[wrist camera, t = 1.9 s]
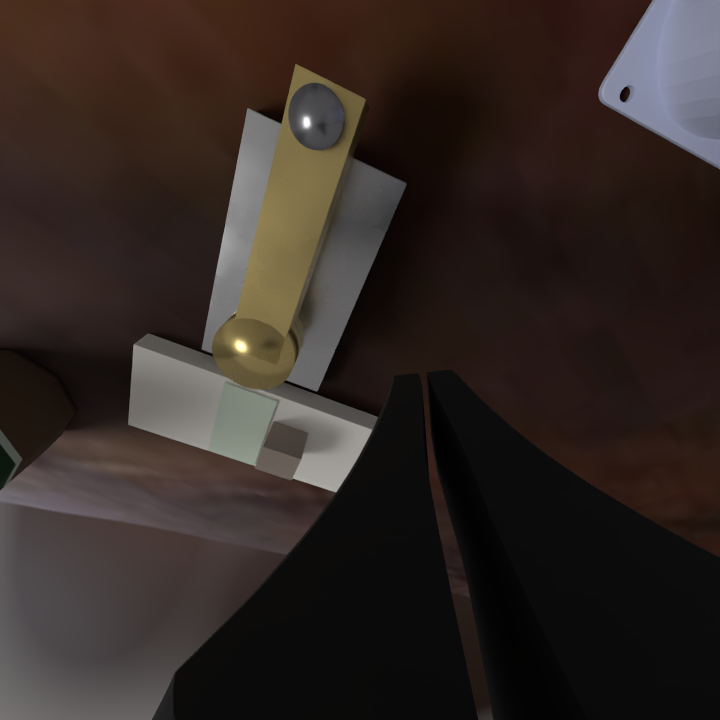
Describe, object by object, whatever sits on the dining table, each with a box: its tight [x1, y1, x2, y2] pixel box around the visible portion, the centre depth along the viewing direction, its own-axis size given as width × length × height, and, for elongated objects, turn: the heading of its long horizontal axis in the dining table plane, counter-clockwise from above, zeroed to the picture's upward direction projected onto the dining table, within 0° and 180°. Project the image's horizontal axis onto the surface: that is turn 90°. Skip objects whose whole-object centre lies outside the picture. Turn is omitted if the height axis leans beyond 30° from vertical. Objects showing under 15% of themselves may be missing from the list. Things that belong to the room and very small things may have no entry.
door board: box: [128, 333, 378, 492], centre depth 22 cm, size 16×6×4 cm, turn 68°
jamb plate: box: [202, 109, 407, 391], centre depth 17 cm, size 7×12×2 cm, turn 158°
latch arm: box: [212, 64, 369, 390], centre depth 14 cm, size 4×12×3 cm, turn 158°
